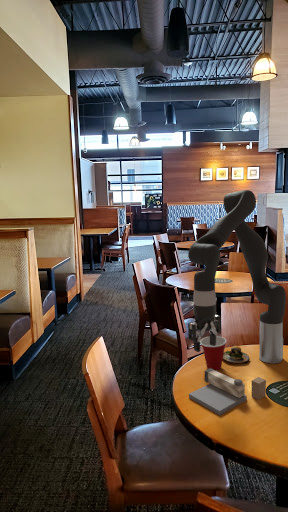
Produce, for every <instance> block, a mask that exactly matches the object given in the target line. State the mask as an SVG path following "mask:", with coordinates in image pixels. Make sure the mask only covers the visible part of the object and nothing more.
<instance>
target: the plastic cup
mask: <svg viewBox="0 0 288 512" xmlns="http://www.w3.org/2000/svg"><path fill="white" fill-rule="evenodd" d="M226 344H227V339H226V338H225V337H222V336H218V335H216V345H215V346H212V345H210V335H209V336H205V337H202V338H201V339H200V346H201V347H202V350H203V355H204V360H205V364H206V368H207V369H210V368H211V369H213V370H215V371H219V370H221V369H222V366H223V365H222V364H223V360H224V359H223V354H224V352H225V348H226Z"/></svg>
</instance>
